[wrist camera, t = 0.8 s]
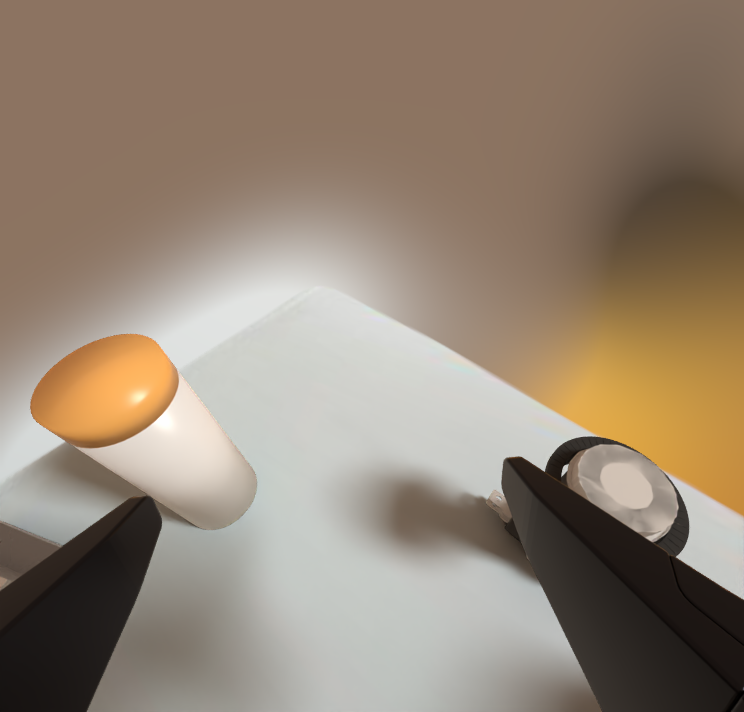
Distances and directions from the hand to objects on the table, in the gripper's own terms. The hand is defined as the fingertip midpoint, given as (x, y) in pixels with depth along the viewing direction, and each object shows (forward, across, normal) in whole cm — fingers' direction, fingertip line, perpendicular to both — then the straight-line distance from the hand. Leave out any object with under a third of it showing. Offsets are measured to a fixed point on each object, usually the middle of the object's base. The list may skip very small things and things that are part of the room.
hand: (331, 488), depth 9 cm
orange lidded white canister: (+12, +10, +11) cm, 20 cm away
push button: (+8, -11, +14) cm, 19 cm away
